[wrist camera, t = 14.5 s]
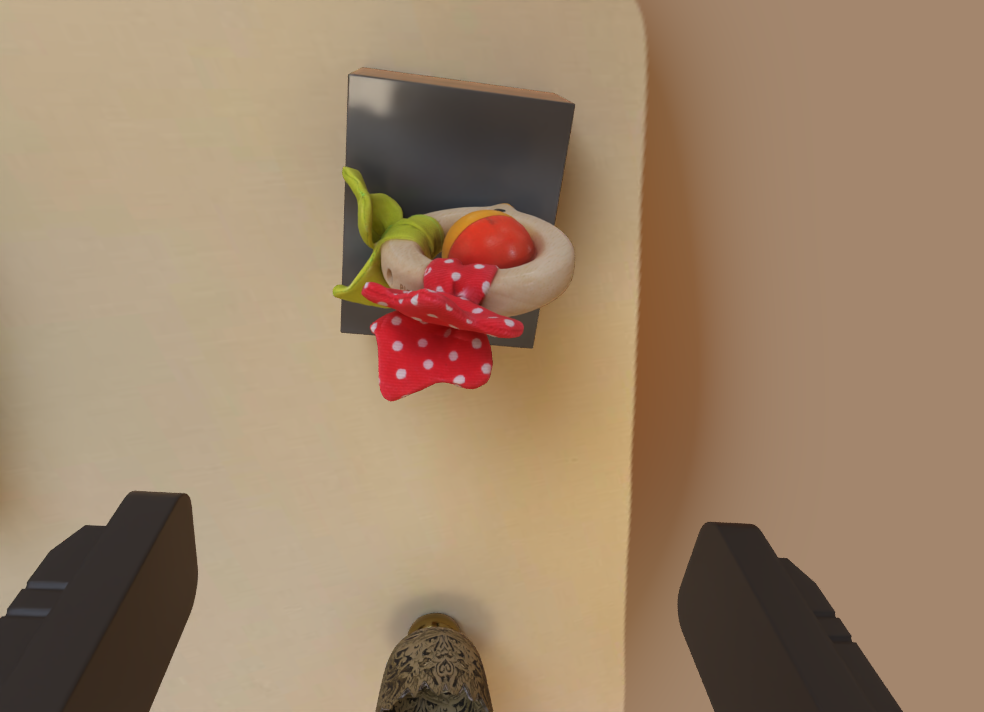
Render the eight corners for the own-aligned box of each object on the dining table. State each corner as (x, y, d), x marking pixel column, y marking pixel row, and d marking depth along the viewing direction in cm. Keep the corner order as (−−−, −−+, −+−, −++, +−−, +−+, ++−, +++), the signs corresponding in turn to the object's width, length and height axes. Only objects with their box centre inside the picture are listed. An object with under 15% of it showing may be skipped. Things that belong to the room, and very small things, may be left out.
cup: (394, 580, 43) (386, 688, 36) (499, 596, 45) (511, 703, 38) (371, 656, 46) (359, 769, 39) (470, 669, 48) (476, 780, 41)
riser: (361, 67, 29) (348, 73, 25) (555, 93, 31) (575, 103, 26) (352, 293, 34) (340, 333, 30) (520, 308, 35) (532, 349, 31)
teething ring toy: (488, 134, 28) (280, 172, 25) (662, 170, 19) (376, 235, 16) (500, 269, 31) (316, 320, 28) (656, 354, 22) (414, 444, 19)
